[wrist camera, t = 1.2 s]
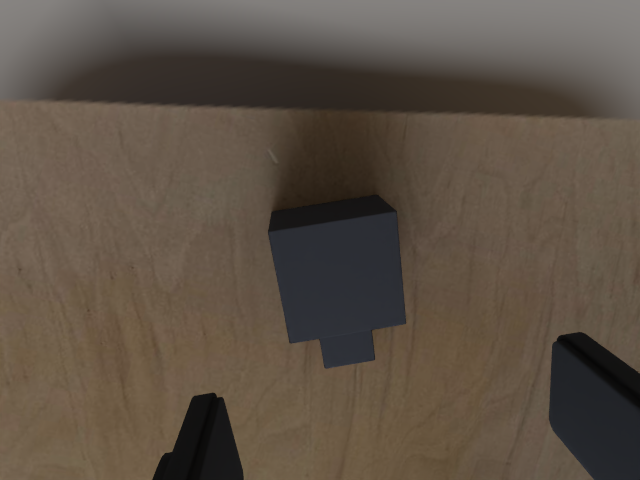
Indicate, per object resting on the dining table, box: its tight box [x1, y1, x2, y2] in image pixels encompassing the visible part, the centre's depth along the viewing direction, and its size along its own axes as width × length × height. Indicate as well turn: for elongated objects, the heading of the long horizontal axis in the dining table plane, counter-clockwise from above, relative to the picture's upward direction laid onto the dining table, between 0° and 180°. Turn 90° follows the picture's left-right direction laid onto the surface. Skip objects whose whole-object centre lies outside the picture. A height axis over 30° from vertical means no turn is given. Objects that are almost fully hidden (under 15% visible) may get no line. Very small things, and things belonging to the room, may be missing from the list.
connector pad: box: [268, 195, 406, 369], centre depth 21 cm, size 6×9×4 cm, turn 8°
